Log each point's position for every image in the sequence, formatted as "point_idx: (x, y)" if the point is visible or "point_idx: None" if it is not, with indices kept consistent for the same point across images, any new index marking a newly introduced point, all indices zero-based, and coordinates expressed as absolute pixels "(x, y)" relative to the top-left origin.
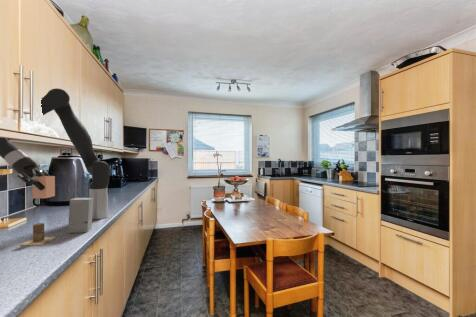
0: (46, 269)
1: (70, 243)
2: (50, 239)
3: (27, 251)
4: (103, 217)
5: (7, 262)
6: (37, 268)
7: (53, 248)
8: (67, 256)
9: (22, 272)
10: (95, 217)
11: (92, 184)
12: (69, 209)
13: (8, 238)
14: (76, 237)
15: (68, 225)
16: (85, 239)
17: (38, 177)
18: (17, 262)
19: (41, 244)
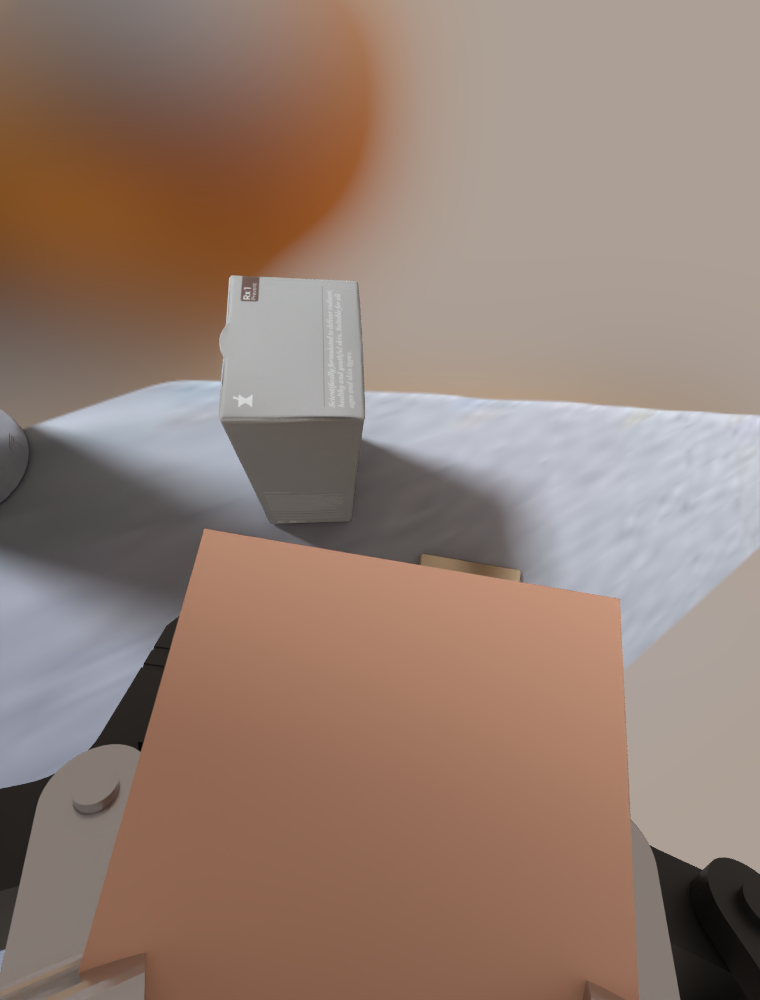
0: (721, 437)
1: (502, 453)
2: (457, 561)
3: (585, 592)
4: (9, 417)
5: (685, 600)
6: (717, 467)
7: (556, 498)
8: (631, 414)
9: (744, 497)
10: (18, 459)
11: None
12: (358, 461)
13: None
14: (422, 457)
15: (352, 507)
16: (457, 409)
17: (629, 876)
18: (683, 562)
19: (519, 570)
